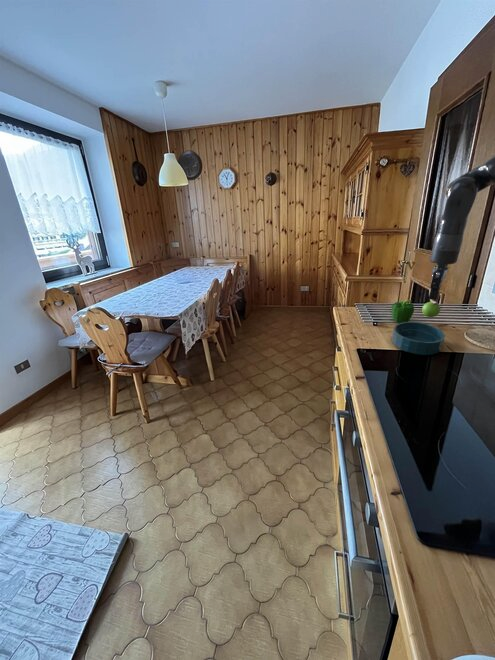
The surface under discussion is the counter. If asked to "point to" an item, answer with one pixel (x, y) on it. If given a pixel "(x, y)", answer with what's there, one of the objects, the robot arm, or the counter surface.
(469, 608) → the counter surface
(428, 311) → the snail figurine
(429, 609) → the counter surface
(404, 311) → the bell pepper
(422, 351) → the bowl
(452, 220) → the robot arm
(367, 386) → the counter surface
